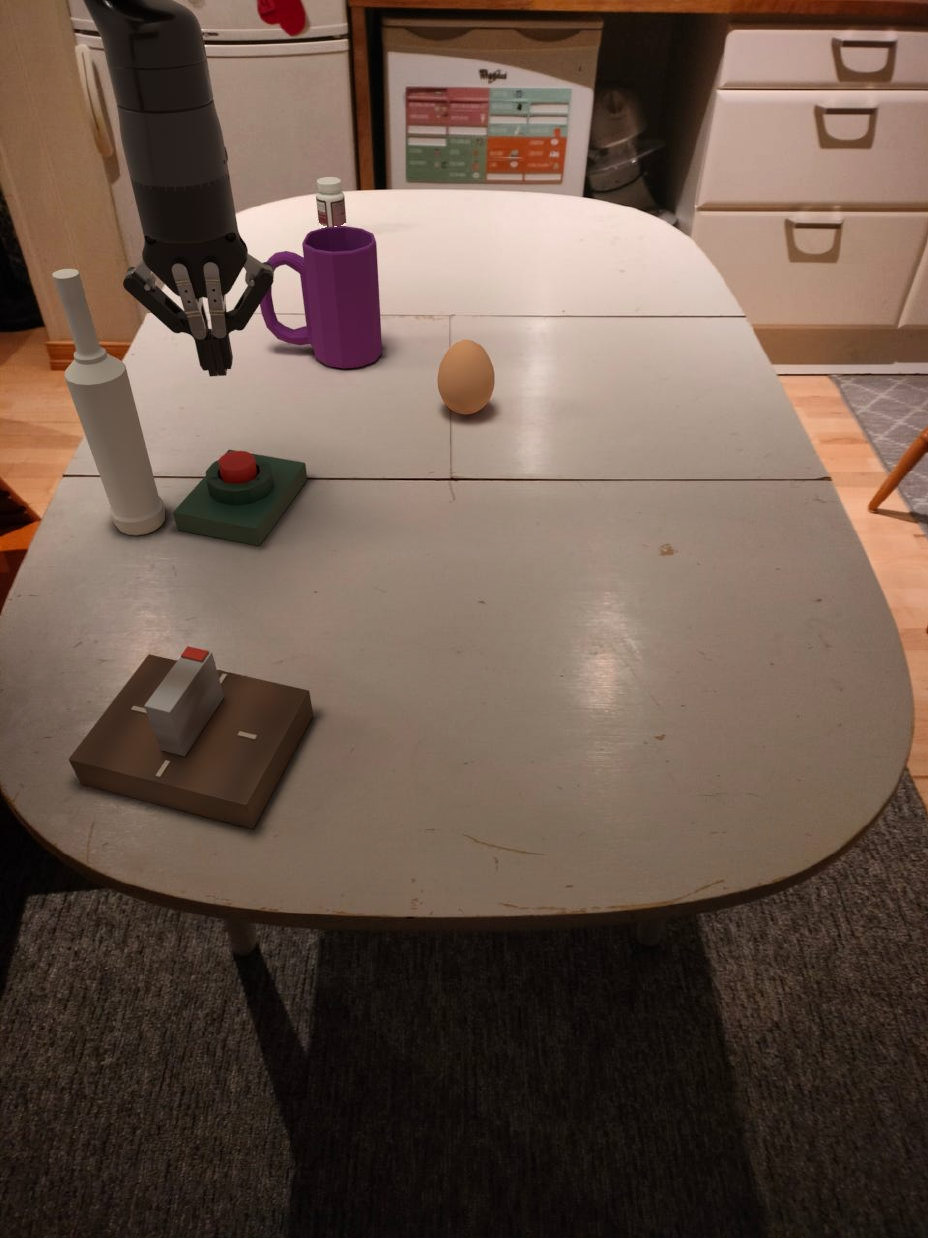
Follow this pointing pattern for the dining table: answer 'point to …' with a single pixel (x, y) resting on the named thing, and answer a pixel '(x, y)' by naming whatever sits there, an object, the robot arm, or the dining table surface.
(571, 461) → the dining table surface
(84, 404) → the bottle
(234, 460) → the red push button
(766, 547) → the dining table surface
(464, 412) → the egg
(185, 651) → the tap handle
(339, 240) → the mug
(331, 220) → the pill bottle
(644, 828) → the dining table surface
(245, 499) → the switch
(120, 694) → the panel
